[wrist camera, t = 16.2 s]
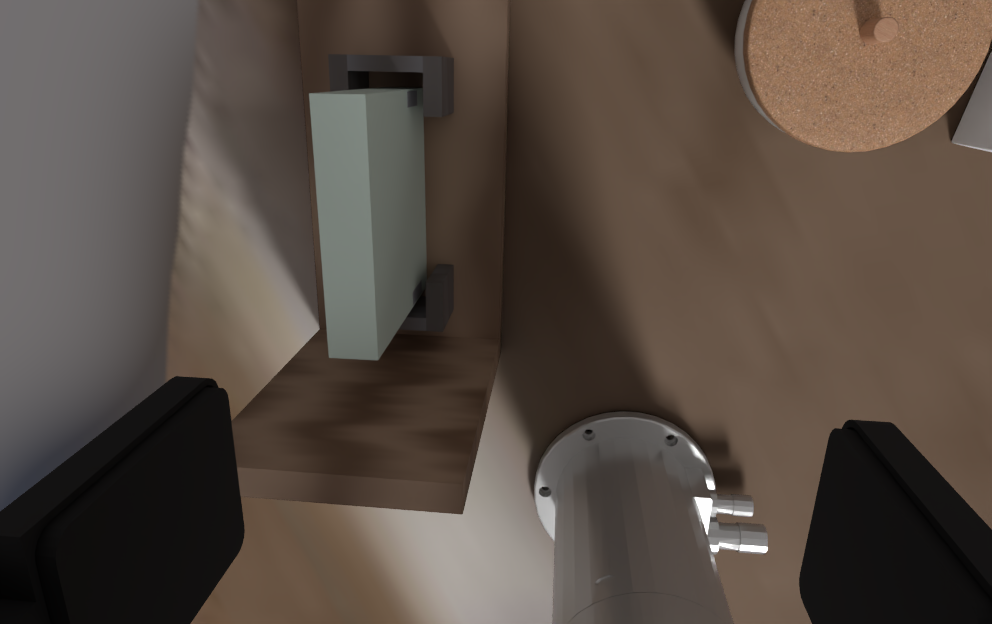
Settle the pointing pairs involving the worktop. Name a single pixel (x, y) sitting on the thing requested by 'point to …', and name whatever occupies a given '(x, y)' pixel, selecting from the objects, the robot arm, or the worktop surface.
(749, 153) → the worktop surface
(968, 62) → the lidded jar
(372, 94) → the door
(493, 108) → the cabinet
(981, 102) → the milk
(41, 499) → the robot arm
